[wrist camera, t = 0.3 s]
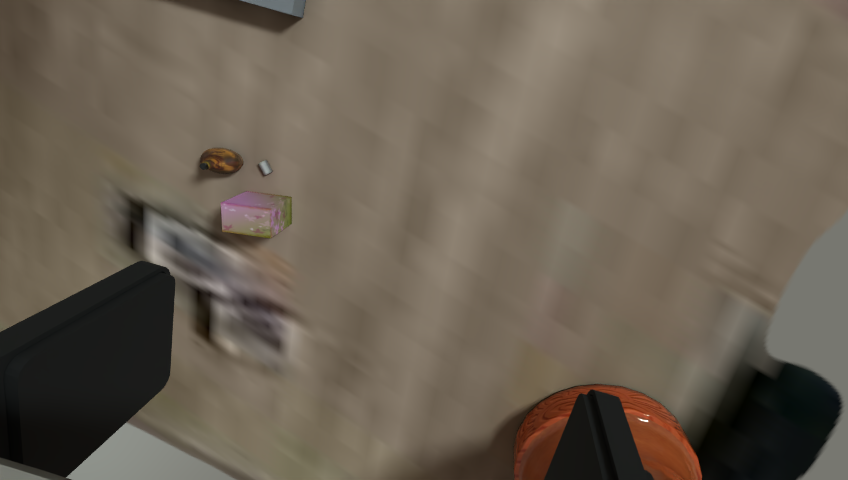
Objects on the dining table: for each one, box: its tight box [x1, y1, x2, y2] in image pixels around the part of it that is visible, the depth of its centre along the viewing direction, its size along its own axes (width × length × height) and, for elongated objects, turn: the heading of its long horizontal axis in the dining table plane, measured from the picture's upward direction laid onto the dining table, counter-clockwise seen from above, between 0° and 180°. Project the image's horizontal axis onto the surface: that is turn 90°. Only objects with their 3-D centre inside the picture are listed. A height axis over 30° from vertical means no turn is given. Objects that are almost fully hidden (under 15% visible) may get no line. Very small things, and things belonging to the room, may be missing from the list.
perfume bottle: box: [200, 148, 292, 238], centre depth 43 cm, size 12×12×4 cm
